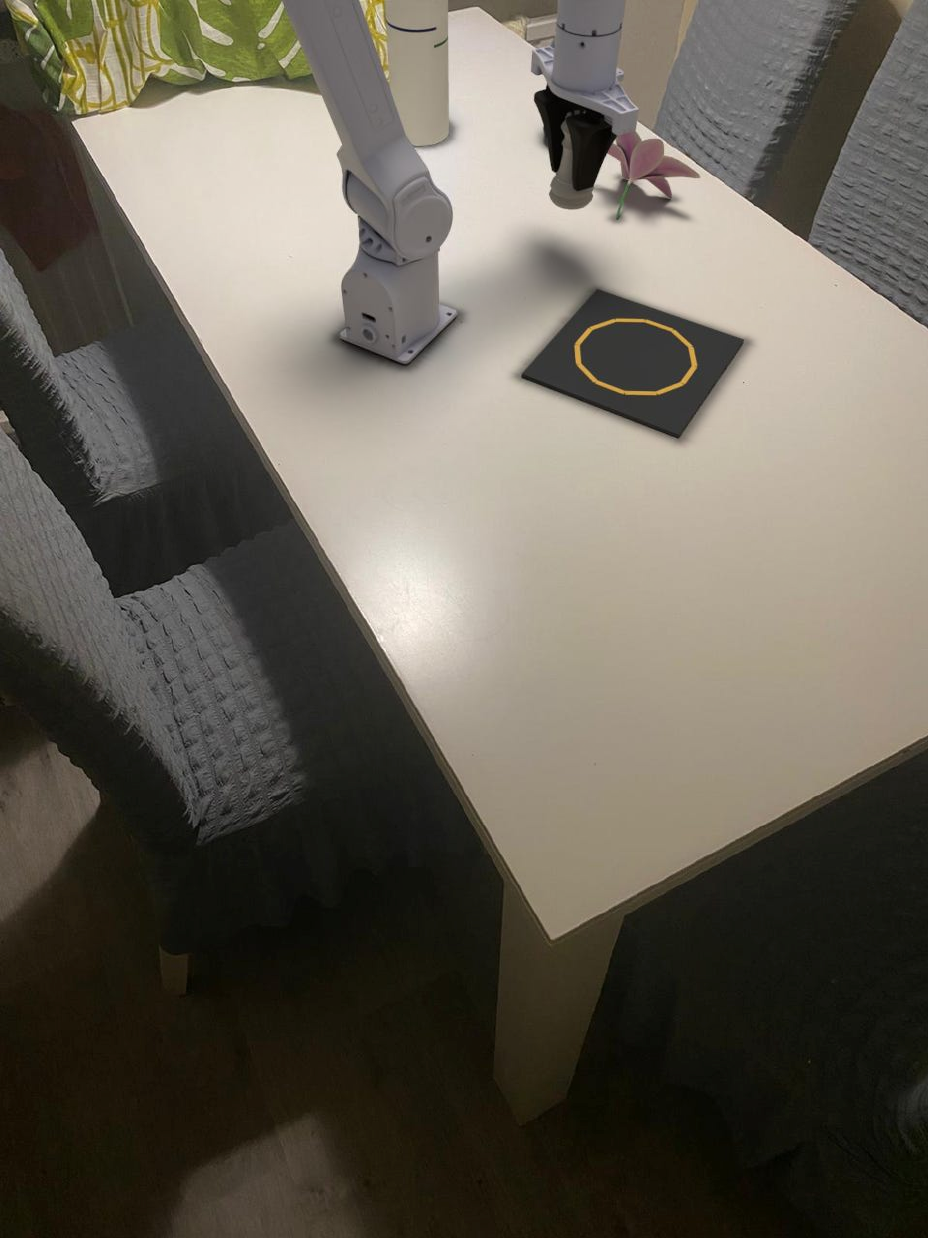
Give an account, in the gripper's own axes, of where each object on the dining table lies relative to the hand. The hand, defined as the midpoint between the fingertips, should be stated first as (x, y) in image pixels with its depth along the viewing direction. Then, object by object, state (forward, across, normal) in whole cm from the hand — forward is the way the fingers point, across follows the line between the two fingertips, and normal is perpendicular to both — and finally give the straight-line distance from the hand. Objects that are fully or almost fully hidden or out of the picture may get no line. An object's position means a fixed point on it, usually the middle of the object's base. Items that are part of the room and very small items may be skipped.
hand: (572, 178), depth 89 cm
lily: (+9, +6, -14) cm, 18 cm away
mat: (+9, -17, +3) cm, 19 cm away
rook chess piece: (+2, 0, 0) cm, 2 cm away
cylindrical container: (+9, +33, 0) cm, 34 cm away
